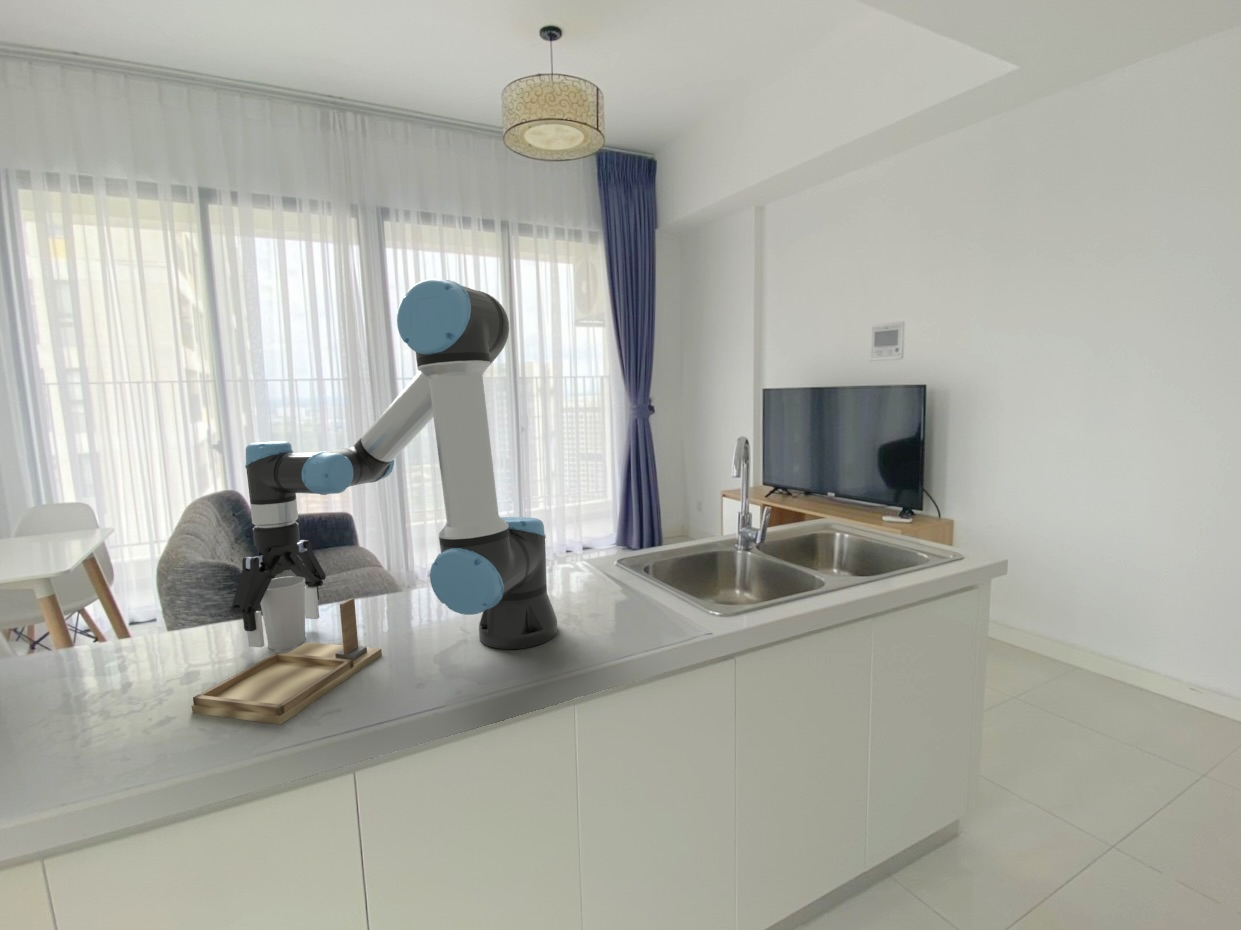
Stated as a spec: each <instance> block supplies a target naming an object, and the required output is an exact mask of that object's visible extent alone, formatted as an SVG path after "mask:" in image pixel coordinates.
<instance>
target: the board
mask: <svg viewBox="0 0 1241 930" xmlns="http://www.w3.org/2000/svg"><path fill="white" fill-rule="evenodd" d="M355 601H356V600H355V598H353V597H351V598H349V599H347V600H344V601H343V602H341V603H339V612H340V613H339V614H340V624H341V635H342V636H341V638H342V644H336V643H335V644H332V643H320V642H309V641H307V642H303V643H302V644H300V645H298V646H296V647H295V648H293V649H292V650H290V651H287V653H286V652H285V653H284V652H275V653H273V654H271V655H269V656H268V657H266V658H263V659H262V660H260V661H258V662H256V663H254V664H253V665H251V666H249V667H247V668H245V669H243V670H241V671H239V672H238V673H236V674H234V675H232V676H230V677H228V678H225V679H224V680H223V681H221V682H219V683H217V684H215V685H212V686H211V687H209V688H207V689H206V690H204V691H202V692H201V693H198V694H197V695H194V696H193V697H192V703H193V704H192V705H191V712H192V714H196V715H198V714H199V715H205V716H213V717H220V718H228V719H235V720H236V719H237V720H245V721H252V722H258V723H268V724H275V725H282V724H284V723H286V721H288V720H289V719H291V718H292V717H294V716H296V715H297V714H298V713H300V712H301V711H303V710H304V709H305V708H307V707H308V706H310V705H312V704H313V703H315V701H317V700H318V699H320V698H321V697H323V696H325V695H326V694H328V693H329V692H330V691H332V690H333V689H335V688H337V687H338V686H339V685H340V684H342V683H344V682H345V681H346V680H347V679H349V678H350V677H352V676H353V675H355V674H356V673H358V672H359V671H360V670H362V669H364V668H365V667H367V666H368V665H369V664H371V663H372V662H374V661H375V660H377V659H378V658H380V657H381V656H382V655H383V653H382V648H379V647H369V646H368V647H367V645H366V646H364V645H359V639H358V627H357V615H356V603H355Z"/></svg>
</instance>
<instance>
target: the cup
mask: <svg viewBox="0 0 1241 930" xmlns="http://www.w3.org/2000/svg"><path fill="white" fill-rule="evenodd" d="M305 586H306V584H305V578H304V577H300V576H296V575H292V576H291V575H289V576H281V577H275V578H273V579H272V580H271V582H270V584H269V586H268V588H267V590H266V592H265V594H264V596H263V598H262V601H261V603H260V607H261V608H260V609H261V615H262V618H263V619H262V620H263V623H264V629H265V634H266V639H267V647H268V649H271V650H274V651H275V650H277V651H278V650H279V651H281V650H287V649H291V648H294V647H295V648H296V647H298V646H301V645H303V644H304V643H305V641H306V639H307V638H306V637H307V636H306V618H305Z"/></svg>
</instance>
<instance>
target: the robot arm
mask: <svg viewBox="0 0 1241 930" xmlns="http://www.w3.org/2000/svg"><path fill="white" fill-rule="evenodd" d="M396 326H397V330H398V334H399V335H400V338H401V339H402V341H403V343H405V344H406V345H407V347H409V349H411V350H412V351H414V352H415V359H416V366H417V371H418V372H417V374H416V375H415V376H414V377H413V378H412V379H411V381H409V383H408V384H407V385H406V387H404V389H403V390H402V391H401V392H400V393H399V394H398V396H397V397H396V398H395V399H394V400H393V401H392V402H391V403H390V404H389V405H388V407H387V408H386V409H385V410H384V411H383V413H382V414H381V415H380V416H379V417H378V418H377V419H376V420H375V422H374V423H373V424H372V425H371V426H370V427H369V428H368V429H367V430H366V431H365V432H364V433H363V435H362V436H361V437H360V438H359V440H357V441H356V443H355V444H353V445H352V446H351V447H347V448H346V447H345V448H340V449H339V448H338V449H332V450H330V449H329V450H325V451H324V450H322V451H315V452H313V451H312V452H294V451H293V449H292V444H291V443H290V442H289V441H285V440H284V441H283V440H281V441H280V440H279V441H277V440H276V441H274V440H273V441H260V442H259V441H258V442H251V443H249V444H248V445H246V446H245V465H244V468H245V471H246V477H247V486H248V496H249V504H250V505H249V506H250V514H251V515H250V516H251V523H252V524H253V525H254V527H253V528H252V534H253V535H252V536H253V538H252V539H253V545H254V546H255V547H256V548H257V556H256V555H255V556H244V557H243V558H242V562H241V563H242V569H241V574H240V577H239V581H238V584H237V588H236V590H235V594H234V597H233V601H232V605H231V607H230V612H231V613H232V614H241V615H242V621H243V629H244V631H245V632H246V633H247V642H248V647H251V648H252V647H254V648H263V647H264V646H265V636H264V627H263V619H262V618H263V615H262V610H258V609H259V607H260V606H261V604H260V603H261V601H262V598H263V596H264V594H265V592H266V590H267V588H268V586H269V584H270V582H271V580H272V579H275V578H276V576H277V574H278V575H279V574H282V573H283V572H285V571H291V572H292V573H293V574H294V576H300V577H304V578H305V619H309V620H318V619H319V618H320V608H319V600H320V592H319V587H322V586H323V584H324V580H326V579H327V575H326V573H325V571H324V570H323V568H322V566H321V564H320V562H319V561H318V558H317V556H316V555H315V553H314V551H313V549H312V543H311V540H309V539H307V540H306V539H301V537H300V535H301V534H300V524H299V522H297V521H298V519H299V512H298V502H297V495H296V494H307V495H308V494H313V495H314V494H315V495H321V496H326V495H333V494H335V495H337V494H340V493H341V494H342V493H344V492H345V491H346V489H347V488H349V487H354V486H358V485H364V484H368V483H369V484H370V483H376V482H378V481H380V480H384V479H386V478H387V477H389V476H390V475H391V473H392V472H393V469H394V466H395V459H396V458H397V457H398V456H399V454H400V453H401V452H402V451H403V450H404V449H405V448H406V447H407V446H408V445H409V444H410V443H411V442H412V441H413V439H414V438H416V436H417V435H418V434H419V433H420V432H421V431H422V430H423V429H424V428H425V427H426V426H427V425H428V423H430V421H431V420H433V424H434V431H435V438H436V439H435V440H436V448H437V455H438V465H439V471H440V480H441V486H442V494H443V495H442V496H443V502H444V503H443V504H444V510H445V519H446V522H445V525H444V526H443V528H442V529H441V530H440V531H439V533H438V541H439V549H440V553H439V554H438V555H437V556H436V557H435V559H434V561H433V562H432V564H431V567H430V571H429V582H430V585H431V589H432V591H433V593H434V594H435V596H436V598H437V599H438V600H439V602H440V603H442V604H444V606H446V607H447V608H448V609H449V610H450V611H453V612H455V613H456V614H457V613H458V614H459V615H467V616H472V615H473V616H474V615H479V614H481V616H480V621H479V624H478V637H479V641H480V642H481V643H482V644H483V645H485V646H488V647H490V648H494V649H501V650H518V649H519V650H520V649H527V648H531V647H535V646H539V645H542V644H545V643H546V642H549V641H550V640H551V639H553V638H554V637H555V636H557V633H558V630H559V629H558V619H557V618H558V617H557V615H556V613H555V610H554V607H553V605H552V603H551V600H550V599H551V598H550V597H549V593H548V590H547V589H548V586H547V558H546V557H547V555H546V554H547V553H546V537H547V536H546V534H545V526H544V522H543V521H542V520H541V519H540V518H537V517H526V516H501V517H500V515H499V507H498V501H497V497H498V496H497V490H496V480H495V473H494V464H493V455H492V446H491V439H490V438H491V437H490V429H489V421H488V420H489V419H488V411H487V403H486V402H487V401H486V395H485V386H484V378H483V377H484V376H483V375H484V373H485V372H486V371H487V369H488V368H489V367H490V366H491V365H492V364H493V362H494V361H495V360H496V358H498V356H499V355H500V354H501V353H502V351H503V350H504V348H505V347H506V343H507V341H508V339H509V334H510V322H509V318H508V315H507V311H506V310H505V309H504V307H503V305H502V304H501V303H500V302H499V301H498V300H497V299H496V298H495V297H494V296H492V295H491V294H488V293H486V292H484V291H482V290H481V291H480V290H477V289H472V288H471V287H467V286H464V285H462V284H459V283H458V282H456V281H454V280H449V279H448V280H447V279H446V280H444V279H440V278H428V279H424V280H421V281H419V282H417V283H416V284H414V285H413V286H411V287H410V288H409V289H408V290H407V293H406V294H405V295H404V296H403V297H402V298H401V300H400V303H399V305H398V309H397V314H396Z"/></svg>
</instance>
